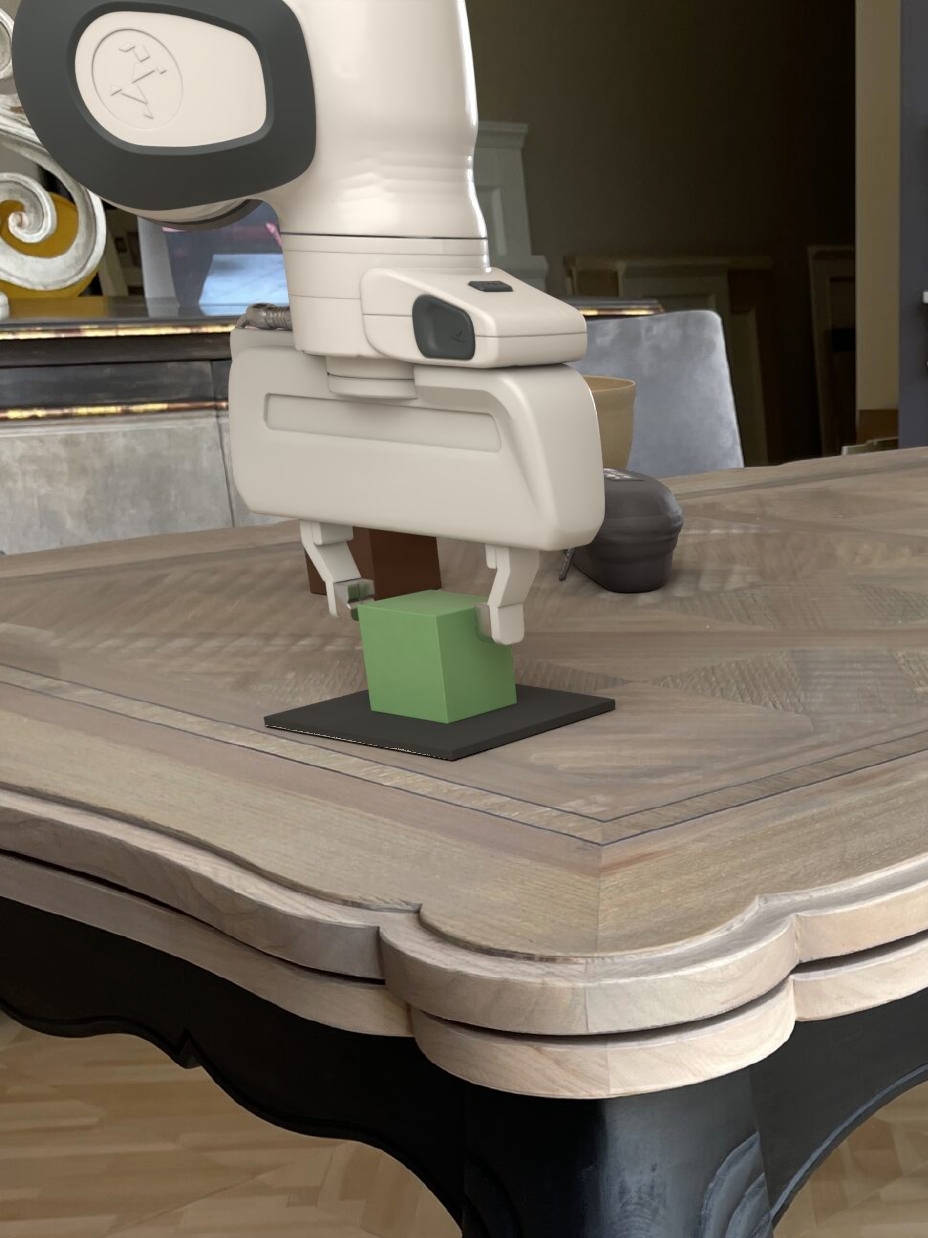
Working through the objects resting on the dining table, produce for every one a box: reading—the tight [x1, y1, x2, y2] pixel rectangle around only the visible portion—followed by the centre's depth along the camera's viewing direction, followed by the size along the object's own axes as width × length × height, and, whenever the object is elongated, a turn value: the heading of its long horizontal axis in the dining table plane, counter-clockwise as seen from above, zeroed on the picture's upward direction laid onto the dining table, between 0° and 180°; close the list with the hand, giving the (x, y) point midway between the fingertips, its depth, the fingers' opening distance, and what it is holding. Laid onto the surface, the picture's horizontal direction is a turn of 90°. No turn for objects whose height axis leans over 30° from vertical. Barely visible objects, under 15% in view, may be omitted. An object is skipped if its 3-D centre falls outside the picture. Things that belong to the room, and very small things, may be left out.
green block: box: [357, 589, 517, 724], centre depth 87 cm, size 5×5×5 cm
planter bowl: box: [580, 374, 637, 470], centre depth 139 cm, size 16×16×11 cm
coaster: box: [263, 683, 617, 761], centre depth 89 cm, size 12×12×1 cm
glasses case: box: [558, 467, 684, 593], centre depth 124 cm, size 18×10×8 cm, turn 24°
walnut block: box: [303, 526, 443, 601], centre depth 118 cm, size 6×6×6 cm
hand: (426, 630), depth 87 cm, fingers open, 8 cm apart
